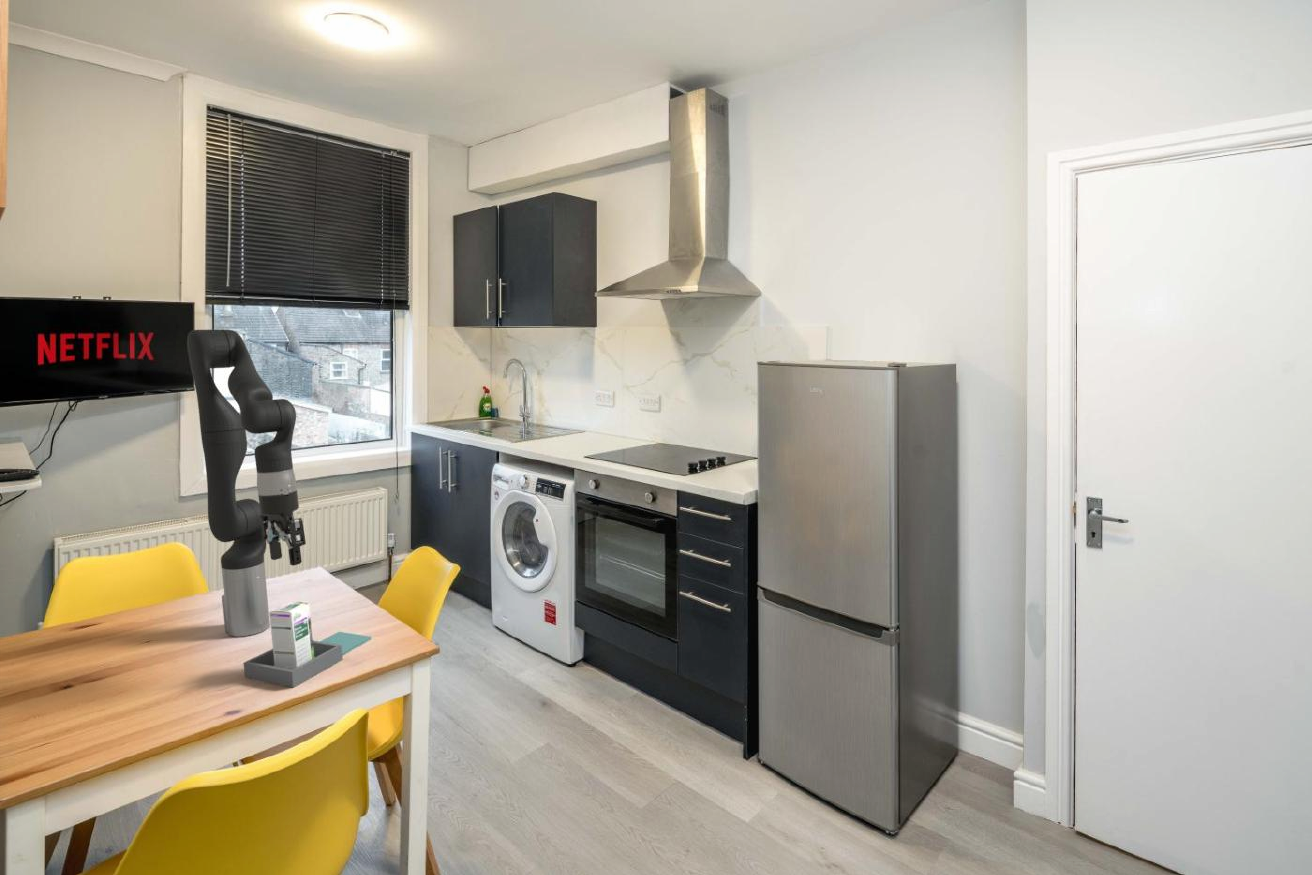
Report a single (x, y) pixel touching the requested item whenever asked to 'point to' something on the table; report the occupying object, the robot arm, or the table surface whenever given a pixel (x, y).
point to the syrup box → (291, 635)
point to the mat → (347, 640)
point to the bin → (266, 672)
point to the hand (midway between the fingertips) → (286, 561)
